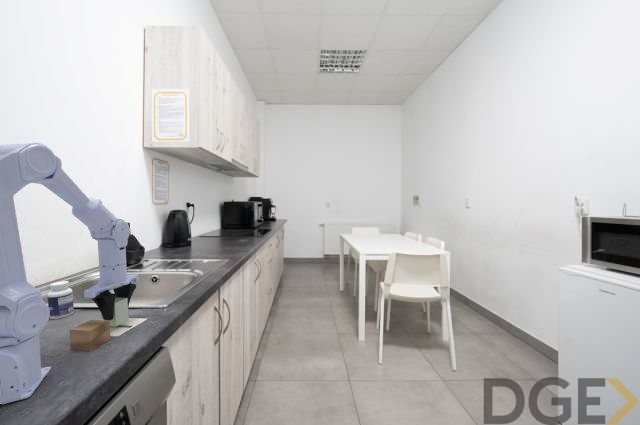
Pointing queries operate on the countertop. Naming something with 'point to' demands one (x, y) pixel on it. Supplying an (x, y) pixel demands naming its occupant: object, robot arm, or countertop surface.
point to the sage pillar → (119, 312)
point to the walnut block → (90, 335)
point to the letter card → (125, 326)
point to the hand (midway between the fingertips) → (115, 315)
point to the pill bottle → (60, 300)
